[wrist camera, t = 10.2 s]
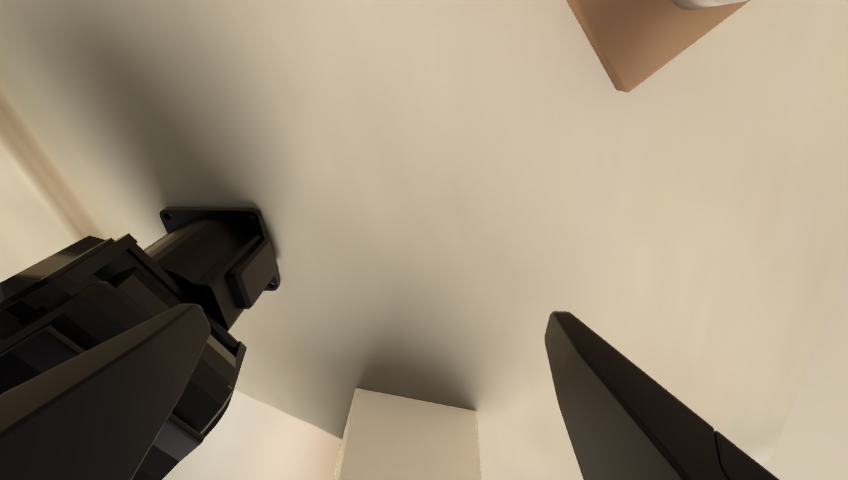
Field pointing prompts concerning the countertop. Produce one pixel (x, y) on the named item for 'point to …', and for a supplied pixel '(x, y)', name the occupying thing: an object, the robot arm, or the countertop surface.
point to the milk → (407, 440)
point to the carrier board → (646, 32)
